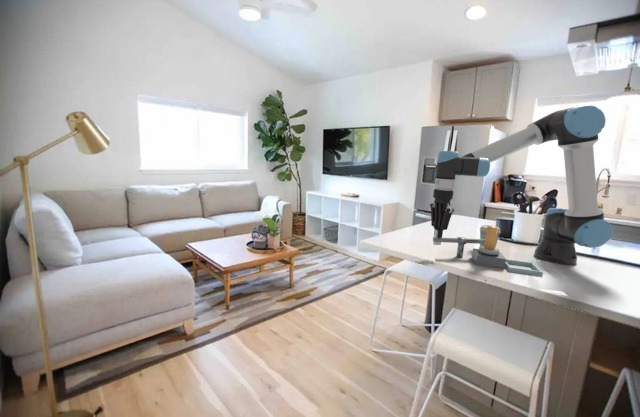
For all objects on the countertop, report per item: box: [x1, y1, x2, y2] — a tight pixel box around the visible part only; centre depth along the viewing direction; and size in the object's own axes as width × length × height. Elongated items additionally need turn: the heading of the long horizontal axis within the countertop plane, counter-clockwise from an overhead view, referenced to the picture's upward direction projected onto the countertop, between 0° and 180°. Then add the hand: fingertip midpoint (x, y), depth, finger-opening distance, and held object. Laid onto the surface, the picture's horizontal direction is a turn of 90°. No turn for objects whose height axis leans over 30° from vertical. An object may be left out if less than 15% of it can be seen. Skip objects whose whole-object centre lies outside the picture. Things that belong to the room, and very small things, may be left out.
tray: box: [505, 258, 544, 277], centre depth 117 cm, size 11×11×2 cm
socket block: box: [471, 247, 507, 270], centre depth 123 cm, size 18×11×5 cm, turn 72°
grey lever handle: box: [432, 236, 485, 259], centre depth 127 cm, size 24×4×9 cm, turn 92°
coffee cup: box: [479, 224, 501, 248], centre depth 140 cm, size 9×9×12 cm
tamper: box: [478, 225, 501, 256], centre depth 121 cm, size 7×7×15 cm
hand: (436, 244), depth 127 cm, fingers closed
